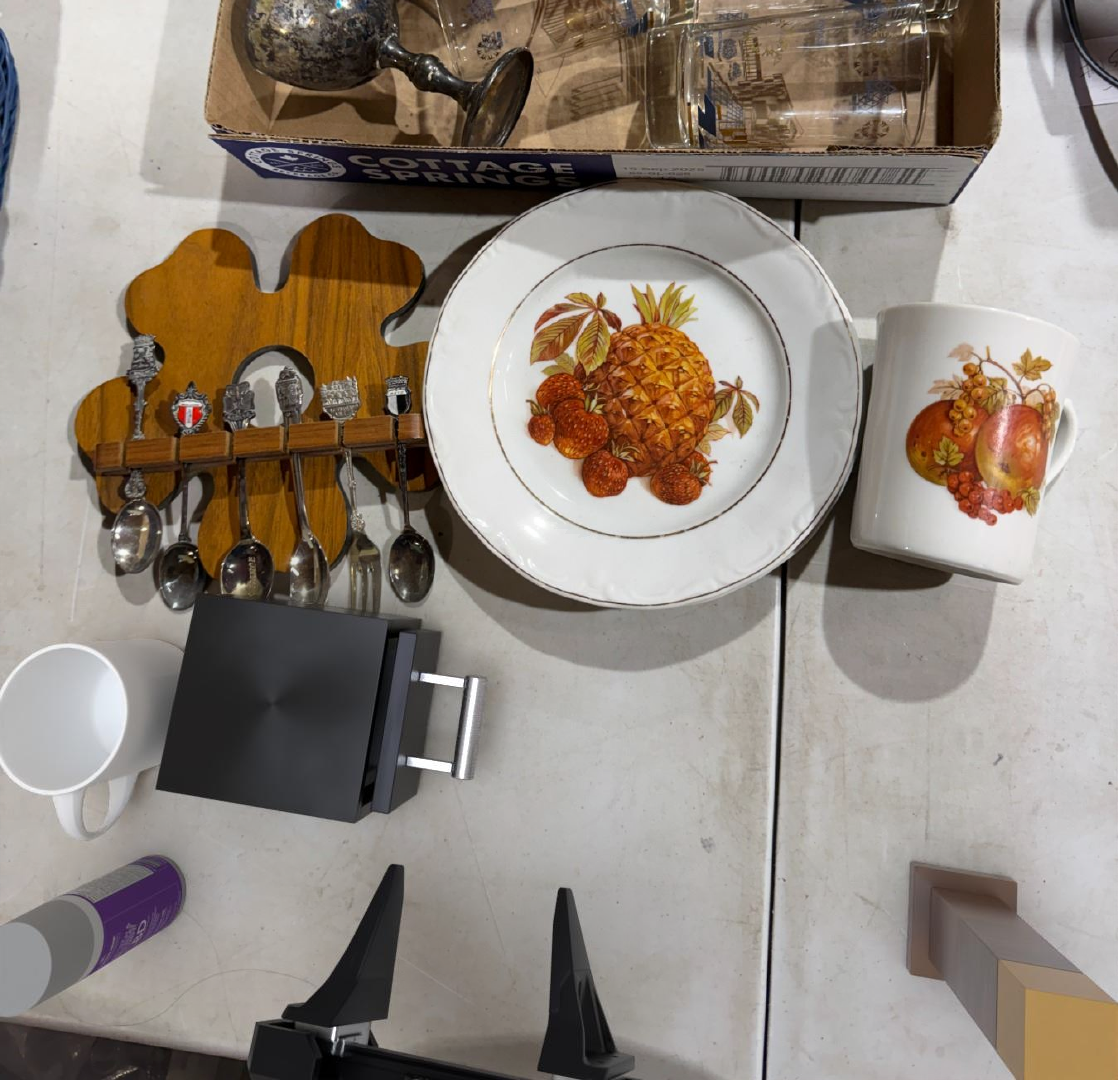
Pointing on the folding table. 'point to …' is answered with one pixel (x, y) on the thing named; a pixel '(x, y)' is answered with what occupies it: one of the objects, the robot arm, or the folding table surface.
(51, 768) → the mug
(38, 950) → the container
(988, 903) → the stand
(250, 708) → the black drawer box
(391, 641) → the drawer with silver handle
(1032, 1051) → the block
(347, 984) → the robot arm
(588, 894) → the folding table surface
